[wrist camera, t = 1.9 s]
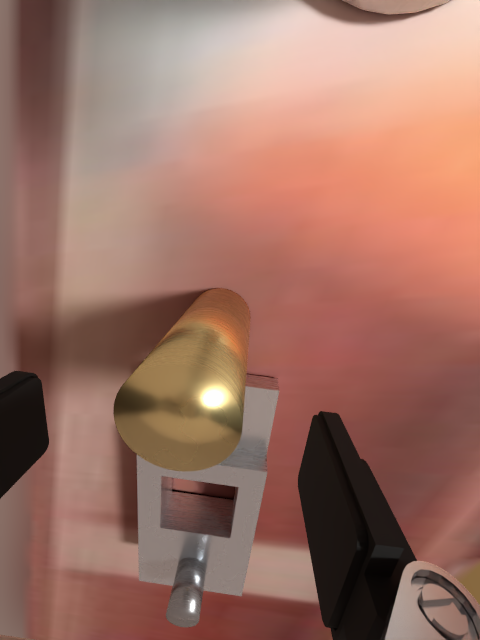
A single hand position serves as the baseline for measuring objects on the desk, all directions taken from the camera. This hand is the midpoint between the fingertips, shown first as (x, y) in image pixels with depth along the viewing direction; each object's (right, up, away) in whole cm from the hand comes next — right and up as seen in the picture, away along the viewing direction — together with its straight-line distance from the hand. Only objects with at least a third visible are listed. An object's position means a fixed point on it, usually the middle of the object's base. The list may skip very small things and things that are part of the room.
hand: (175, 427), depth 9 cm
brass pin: (+1, +4, +8) cm, 9 cm away
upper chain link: (-1, -12, +14) cm, 18 cm away
